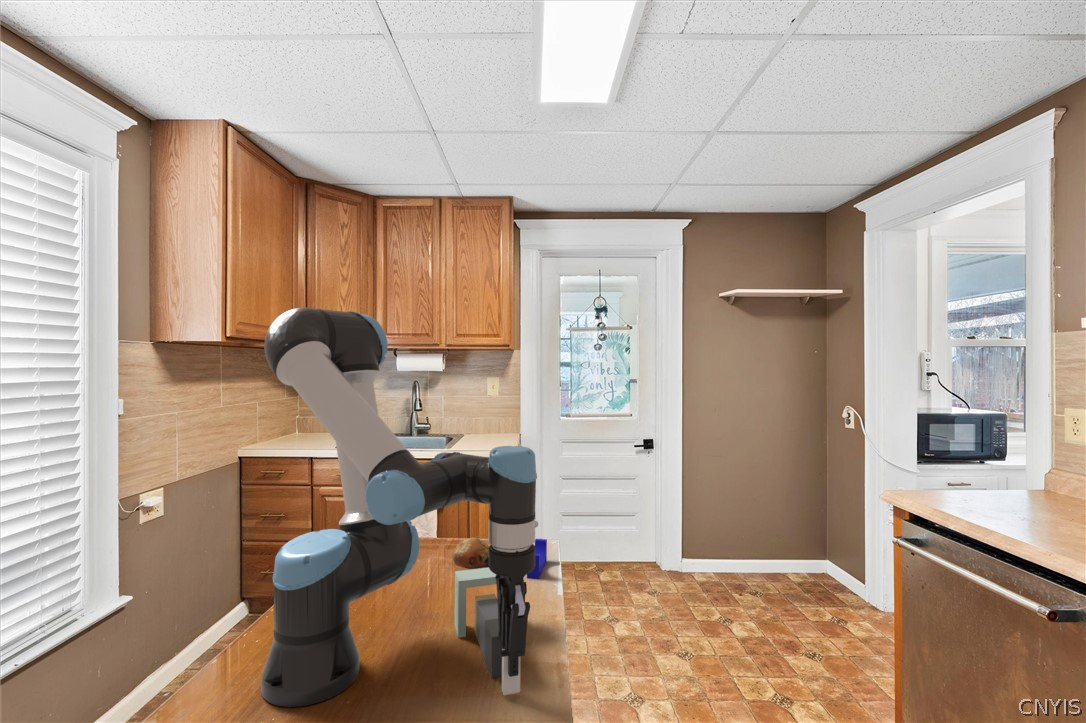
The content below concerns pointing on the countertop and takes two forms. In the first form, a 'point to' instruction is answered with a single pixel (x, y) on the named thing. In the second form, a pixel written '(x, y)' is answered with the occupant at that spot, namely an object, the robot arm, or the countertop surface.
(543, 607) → the countertop surface
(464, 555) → the bread roll
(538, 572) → the blue cradle block
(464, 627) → the pale green arch
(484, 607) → the grey rectangular block
